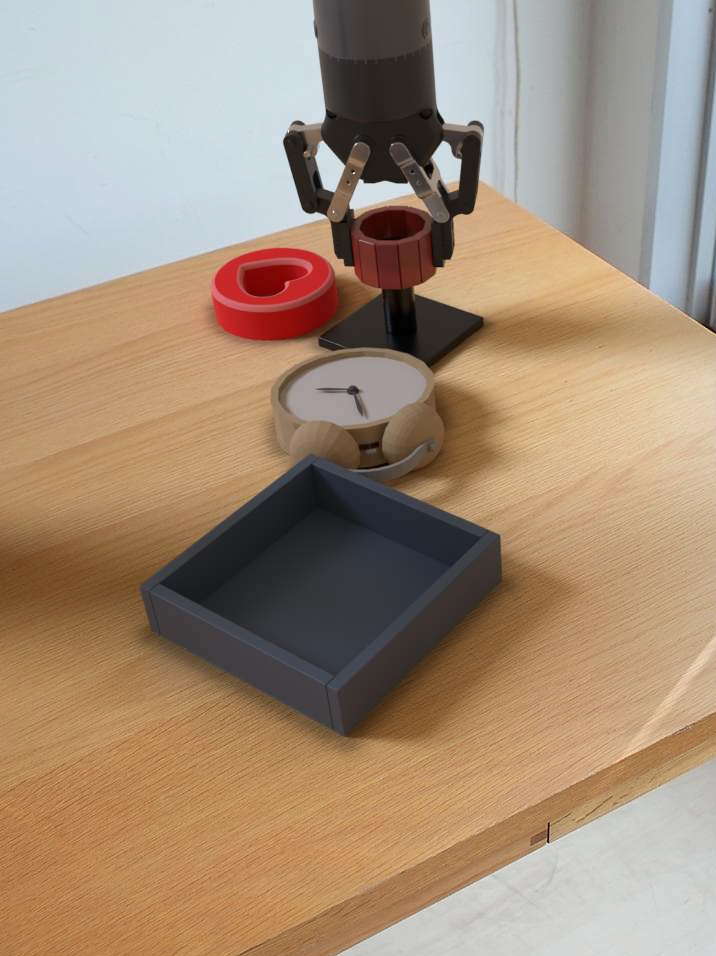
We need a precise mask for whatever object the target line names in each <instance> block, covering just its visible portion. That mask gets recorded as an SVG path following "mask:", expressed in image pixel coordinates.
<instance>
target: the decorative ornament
mask: <svg viewBox="0 0 716 956" xmlns="http://www.w3.org/2000/svg"><path fill="white" fill-rule="evenodd" d="M209 286H210V293H211V299H212V304H213V308H214V314H215V318H216V322H217V324H218V325H219V327H220V328H221V329H222V330H224V331H225V332H227V333H228V334H231V335H232V336H235V337H239V338H242V339H246V340H251V341H267V342H268V341H282V340H288V339H293V338H294V339H295V338H297V337H301V336H304V335H306V334H309V333H311V332H313V331H315V330H317V329H319V328H321V327H323V326H324V325H325V324H327V323H328V322H329V321H331V320H332V318H333V317H334V315H336V312H337V310H338V307H339V298H338V290H337V289H338V288H337V281H336V275H335V270H334V268H333V265H332V264H331V263H330V262H329V261H328V260H327V259H326V258H324V257H323V256H322V255H320V254H318V253H316V252H314V251H310V250H308V249H302V248H295V247H269V248H263V249H258V250H253V251H250V252H246V253H243V254H241V255H238V256H236V257H233V258H231V259H230V260H228V261H226V262H225V263H224V264H223V265H222V266H220V267H219V268H218V269H217V270H216V272H214V275H213V277H212V278H211V281H210V285H209Z"/></svg>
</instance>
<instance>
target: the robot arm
mask: <svg viewBox="0 0 716 956" xmlns="http://www.w3.org/2000/svg"><path fill="white" fill-rule="evenodd" d="M430 1H431V0H312V8H313V22H312V23H313V29H314V30H313V31H314V37H315V38H316V43H317V44H316V45H317V52H318V53H317V54H318V59H319V69H320V76H321V77H320V78H321V85H322V94H323V101H324V108H325V110H324V111H325V114H324V115H325V116H324V119H323V121H322V122H318V123H311V124H306V123H305V122H303V121H302V120H298V119H297V120H296V119H295V120H293V121H292V122H291V123H290V125H289V127H288V129H287V130H286V132H285V135H284V137H283V140H282V145H283V147H284V148H283V149H284V152H285V156H286V159H287V162H288V166H289V169H290V173H291V176H292V179H293V183H294V186H295V190H296V193H297V196H298V200H299V203H300V208H301V209H302V211H303V212H304V213H306V214H308V215H313V214H316V213H317V214H320V215H323V216H325V217H326V218H327V219H328V220H329V222H330V229H331V236H332V245H333V251H334V255H335V257H336V258H337V260H343V266H344V267H349V268H350V267H351V268H352V267H353V268H354V261H353V253H352V244H351V236H350V229H351V226H352V223H353V220H354V219H355V218H356V217H355V209H354V208H351V207H350V203H351V201H352V198H353V196H354V193H355V191H356V188H357V187H358V186H357V185H358V184H359V180H361V181H363V184H369V185H371V184H373V185H374V184H378V183H382V182H389V183H392V184H396V185H406V184H409V185H410V187H411V188H412V190H413V192H414V193H415V195H416V197H417V198H418V199H419V200H421V201H422V202H423V203H424V205H425V207H426V209H427V210H428V213H429V214H430V215H431V216H432V221H431V234H432V248H433V261H434V267H437V268H445V265H446V261H451V260H452V257H453V254H454V250H455V246H456V240H455V239H456V238H455V224H454V223H455V222H454V218H455V217H457V216H460V215H464V216H468V215H471V214H472V213H473V212H475V206H476V202H477V198H478V192H479V182H480V172H481V164H482V163H481V162H482V155H483V154H482V153H483V145H484V144H483V143H484V132H485V125H484V124H483V123H482V122H481V121H480V120H470V121H469V122H468V123H467V125H463V124H457V123H448V122H445V119H444V117H443V116H442V115H441V113H440V111H439V109H438V104H437V103H438V102H437V91H436V74H435V61H434V47H433V31H432V29H433V28H432V17H431V3H430ZM321 142H324V144H326V146H327V147H328V149H330V151H331V152H332V153H333V154H334V155H335V156H336V157H337V159H338V160H339V161H340V162H341V163H342V164H343V165H344V168H343V170H342V173H341V176H340V178H339V181H338V184H337V186H336V189H335V191H331V190H328V189H325V188H324V184H323V182H322V181H323V180H322V177H321V174H320V169H319V166H318V163H317V159H316V156H317V154H318V152H319V150H320V147H321V146H320V145H321V144H320V143H321ZM443 142H445V143H447V144H448V145H449V146H450V151H451V155H452V156H453V157H454V158H455V159H458V160H461V162H460V172H459V180H458V181H459V182H458V189H456V190H453V191H450V190H449V189H448V187H447V185H446V184H445V182H444V180H443V178H442V176H441V171H440V169H439V167H438V165H437V163H436V161H435V159H434V158H433V156H434V154H435V153H436V151H437V150H438V148H439V147H440V145H441V144H442V143H443Z"/></svg>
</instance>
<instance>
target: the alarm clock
mask: <svg viewBox="0 0 716 956" xmlns="http://www.w3.org/2000/svg"><path fill="white" fill-rule="evenodd" d="M435 390H436V385H435V378H434V372H433V371H432V370H431V368H428V366H427V365H426V364H425V363H424V362H423V361H421V360H419V359H417V358H415V357H413V356H411V355H409V354H407V353H403V352H398V351H394V350H390V349H381V348H353V349H343V350H337V351H329V352H325V353H321V354H316V355H314V356H312V357H309V358H307V359H305V360H303V361H300V362H297V363H295V364H294V365H293V366H291V367H289V368H288V369H287V370H286V371H284V372H283V373H281V374H280V375H279V376H278V377H277V379H276V380H275V382H274V384H273V385H272V386H271V388H270V396H269V397H270V400H269V403H270V407H271V408H272V414H273V421H274V426H275V432H276V433H275V436H276V439H277V442H278V443H279V445H280V447H281V449H282V450H283V452H284V453H286V454H287V455H289V457H290V460H291V463H292V467H293V466H295V465H296V464H297V463H299V462H300V461H301V460H302V459H304V458H305V457H306V456H308V455H309V454H310V453H311V454H313V455H316V456H318V457H320V458H323V459H325V460H327V461H330V462H332V463H334V464H337V465H339V466H341V467H344V468H346V469H348V470H351V471H353V472H355V473H358V474H360V475H362V476H365V477H367V478H369V479H372V480H374V481H376V482H379V483H381V484H382V483H384V482H388V481H391V480H395V479H398V478H400V477H403V476H405V475H406V474H408V473H410V472H414V471H418V470H421V469H423V468H425V467H427V466H428V465H429V464H431V463H432V462H433V461H434V460H435V459H436V458H437V456H438V455H439V453H440V452H441V449H442V447H443V444H444V441H445V426H444V423H443V420H442V418H441V416H440V415H439V413H438V412H437V411H438V410H437V405H436V395H435ZM386 463H387V464H388V465H386V466H381V467H377V468H376V467H375V466H380V465H384V464H386ZM372 467H375V468H372ZM362 468H363V469H362ZM364 468H369V469H364Z"/></svg>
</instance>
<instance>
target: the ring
mask: <svg viewBox="0 0 716 956" xmlns="http://www.w3.org/2000/svg"><path fill="white" fill-rule="evenodd" d="M431 221H432V215H431V214H430V212H429V211H426V210H424V209H420V208H417V207H413V206H409V205H388V206H387V205H385V206H380V207H377V208H373V209H368V211H367V210H366V211H364V212H363V213H361V214H360V215H357V217H355V219H354V220H353V223H352V226H351V229H350V236H351V244H352V253H353V261H354V267H353V269H354V274H355V276H356V277H357V279H358V280H359V281H360V283H361V284H363V285H366V286H370V287H372V288H374V289H378V290H379V289H380V290H382V289H401V288H402V289H405V288H409V287H413V286H414V287H417V286H419V285H422V284H425V283H426V282H427V281H429V280H430V279H431V278H433V277H434V276H436V273H437V270H438V267H434V261H433V248H432V234H431ZM389 237H402V238H405V239H401V240H397V241H384V240H383V239H385V238H389Z"/></svg>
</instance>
